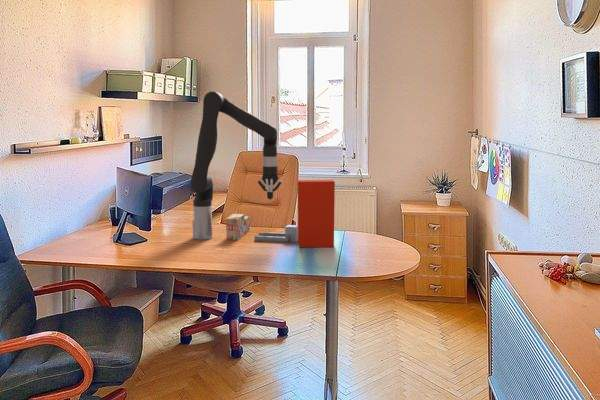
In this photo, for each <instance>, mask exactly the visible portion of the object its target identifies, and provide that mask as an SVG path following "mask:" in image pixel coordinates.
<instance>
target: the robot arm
mask: <svg viewBox="0 0 600 400" xmlns="http://www.w3.org/2000/svg"><path fill="white" fill-rule="evenodd" d="M202 101H203V102H202V103H203V104H202V119H201V124H200V128H199V133H198V140H197V147H196V153H195V162H194V167H193V171H192V175H191V178H190V184H189V185H190V188H191V190H192V192H193V193H195V197H194V199H193V201H192V202H193V205H192V207H193V220H192V239H194V240H198V241H204V240H211V239H213V211H212V210H213V207H212V204H213V203H212V202H213V198H214V197H213V196H214V194H213V192H214V191H213V190H214V186H213V185H214V184H213V180H212V177H211V176H210V175H209V174H208V172H209V167H210V165H211V162H212V160H213V159H214V155H215V153H216V150H217V145H218V144H217V143H218V117H219V114H220V113H222V114H225V115H227V116H228V117H230V118H231V119H233V120H234V121H236V122H237V123H239V124H240V125H242V126H243V127H245V128H246V129H249V130H251V131H253V132H255V133H256V134H258V135H259V136H261V137H262V138H263V147H262V176H261V178H260V180H258V181H257V183H258V185H259V186H260V187H261V189H262V190H263V191H264V192H266V197H267V199H268V200H273V198H274V193H275V192H276V191H278V189H279V188H280V186H281V185H282V184H283V181H282V180H280V179H279V176H278V172H279V171H278V165H279V163H278V149H277V147H278V146H277V143H278V130H277V128H276V126H274V125H271V124H269V123H267V122H265V121H263V120H262V119H260V118H259V117H258V116H257V115H254V114H252V113H251V112H248V111H246V110H245V109H243V108H241V107H239V106H237V105H236V104H234V103H233V102H231V101H229V100H228V99H227V98H226V97H225V96H224V95H222V94H221V93H220V92H218V91H209V92H207V93H206V94H205V95H204V96H203V100H202ZM219 112H220V113H219ZM275 185H276V186H275Z"/></svg>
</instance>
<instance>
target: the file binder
mask: <svg viewBox="0 0 600 400" xmlns="http://www.w3.org/2000/svg"><path fill="white" fill-rule="evenodd" d="M335 183H336V182H335V180H334V179H305V180H304V179H297V226H298V240H297V245H298V247H299V248H335V200H336V199H335V196H336V195H335V194H336V193H335V190H336V188H335V185H336V184H335Z"/></svg>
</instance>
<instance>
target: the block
mask: <svg viewBox="0 0 600 400" xmlns="http://www.w3.org/2000/svg"><path fill="white" fill-rule="evenodd" d="M284 233H285V237H288V235H290V243H291V242H292V243H293V242H295V243H297V242H298V224H297V225H296V224H287V225H286V226H285V227H284Z"/></svg>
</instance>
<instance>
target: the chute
mask: <svg viewBox="0 0 600 400" xmlns="http://www.w3.org/2000/svg"><path fill="white" fill-rule="evenodd" d="M253 241H254V242H267V243H268V242H269V243H287V244H288V243H291V242H290V235H288V237H285V232H269V231H267V232H265V231H264V232H263V231H259V232H258V235H254V240H253Z"/></svg>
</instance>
